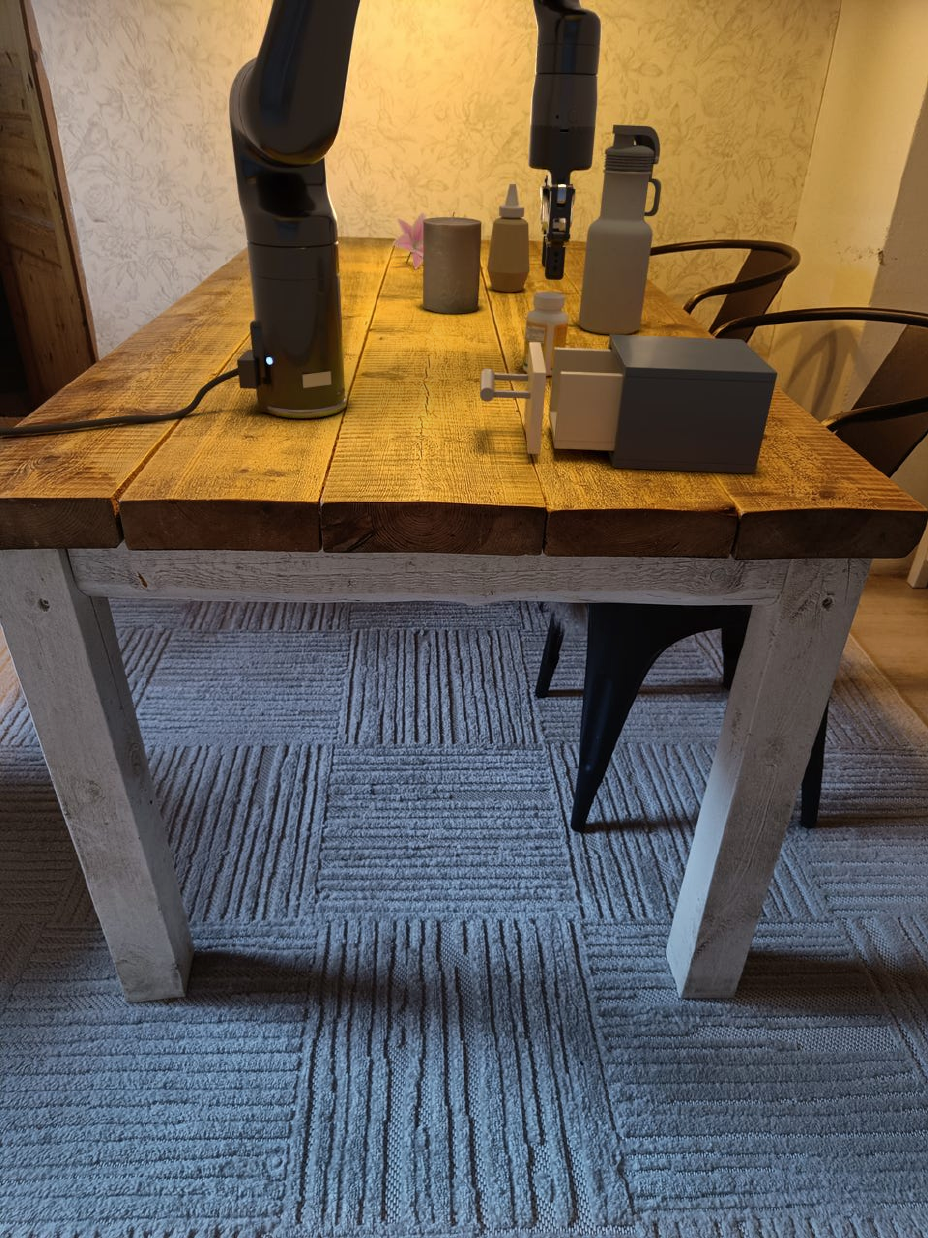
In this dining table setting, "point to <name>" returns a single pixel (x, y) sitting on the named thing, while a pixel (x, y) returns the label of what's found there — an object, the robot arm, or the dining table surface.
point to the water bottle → (621, 235)
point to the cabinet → (690, 404)
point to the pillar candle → (451, 264)
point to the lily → (412, 239)
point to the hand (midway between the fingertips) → (551, 273)
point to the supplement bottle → (546, 327)
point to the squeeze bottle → (509, 246)
